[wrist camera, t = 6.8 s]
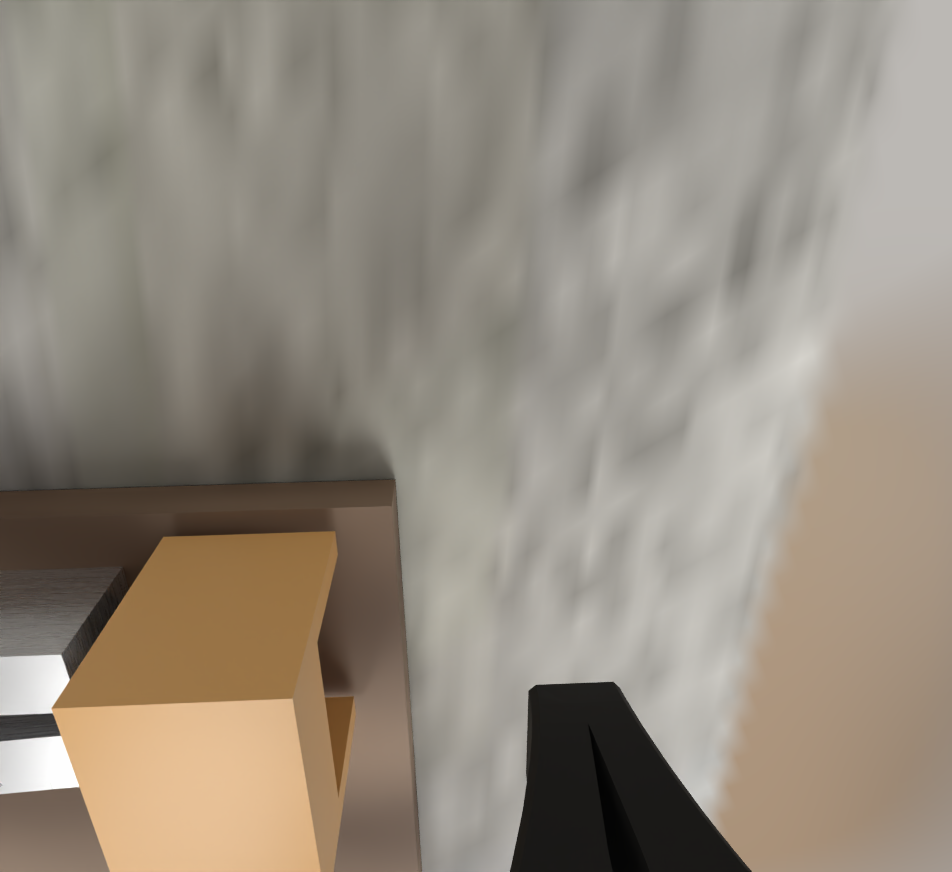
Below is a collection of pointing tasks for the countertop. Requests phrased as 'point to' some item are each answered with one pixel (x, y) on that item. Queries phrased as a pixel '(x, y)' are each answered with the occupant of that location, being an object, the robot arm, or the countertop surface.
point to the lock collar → (214, 711)
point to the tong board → (110, 577)
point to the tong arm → (33, 755)
